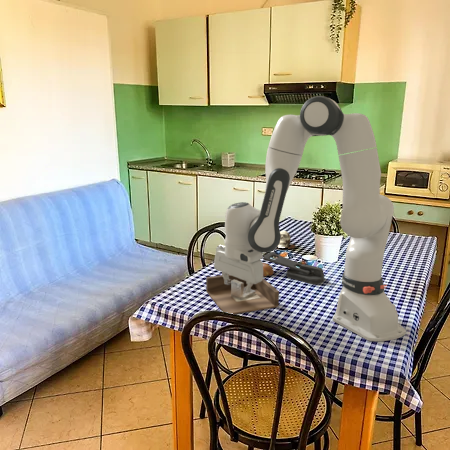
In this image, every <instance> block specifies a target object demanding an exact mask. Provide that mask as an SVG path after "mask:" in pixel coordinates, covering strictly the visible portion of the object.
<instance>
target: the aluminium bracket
mask: <svg viewBox="0 0 450 450" xmlns="http://www.w3.org/2000/svg"><path fill="white" fill-rule="evenodd" d="M254 294H256V291H254V290H252V289H251V291H250V293H246V292H244V283H242V282H240V281H237V280H235V279H234V280H231V297H234V298H236V299H238V300H242V299H245V298H247V297H249V296H252V295H254Z"/></svg>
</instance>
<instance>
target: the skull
mask: <svg viewBox="0 0 450 450" xmlns="http://www.w3.org/2000/svg"><path fill="white" fill-rule="evenodd" d="M280 235H281V239H280V243H279V245H278V246H277V247H285V248H288V249H289V250H292V249H295V248H296V245H295V244H292V243H291V235H290V233H289V232H288V231H286V230H281V231H280ZM288 249H287V250H288Z"/></svg>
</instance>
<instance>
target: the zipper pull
mask: <svg viewBox="0 0 450 450" xmlns="http://www.w3.org/2000/svg"><path fill="white" fill-rule="evenodd" d="M273 257H274V258H275V259H272V258H273ZM262 259H263V260H264V261H266V262H270V263H272V264H276V265H278V266H283V267H285V268H288V269H287V270H286V277H287V278H288V279H292V280H295V281H300V282H303V283H306V284H309V285H320V284H321V283H322V284H323V283H324V281H325V273H324V269H323V268H321V267H319V266H315V265H310V264H302V263H300V262H298V261H294V260H292V259H289V258H287V257H284V256H282V255H279V254H277V253H276V252H275V253H274V252H273V251H271V252H267V253H266V254H265V255H263V258H262Z"/></svg>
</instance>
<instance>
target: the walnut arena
mask: <svg viewBox="0 0 450 450" xmlns="http://www.w3.org/2000/svg"><path fill="white" fill-rule="evenodd" d="M244 287H246V286H244ZM251 289H252V290H254V291H256V294H254V295H252V296H249V297H247V298H245V299H242V300H238V299H236V298H234V297H231V288H230V289H223V290H216V291H209V292H207V290H206V289H205V290H206V292H205V293H207V295H208V296H209V297H210V298H211V300H212V301H214V303H215V304H216V306H217V307H218V308H219V309H220V310H221V312H222V311H223V312H228V313H233V315H237V314H243V313H249V312H255V311H262V310H263V311H264V310H268V309H274V308H279V305H277V306H274V305H273V304H272V303H271V302H270V301H269V300H268V299H266V298H265V297H264V296H263V295H262V294H261V293H260V292H259V291H258V290H257V289H256V288H255V287H253V286H252V287H251ZM223 312H222V313H223Z"/></svg>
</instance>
